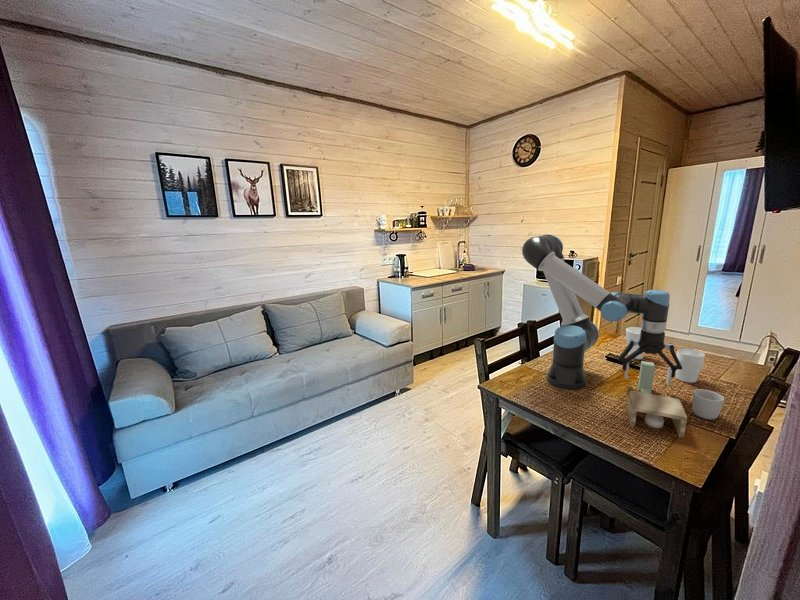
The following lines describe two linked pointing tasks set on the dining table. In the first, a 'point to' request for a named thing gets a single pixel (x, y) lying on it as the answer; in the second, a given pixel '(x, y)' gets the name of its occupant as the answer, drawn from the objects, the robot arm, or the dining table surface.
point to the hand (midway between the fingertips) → (646, 381)
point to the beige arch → (657, 408)
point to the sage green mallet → (646, 377)
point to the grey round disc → (654, 420)
